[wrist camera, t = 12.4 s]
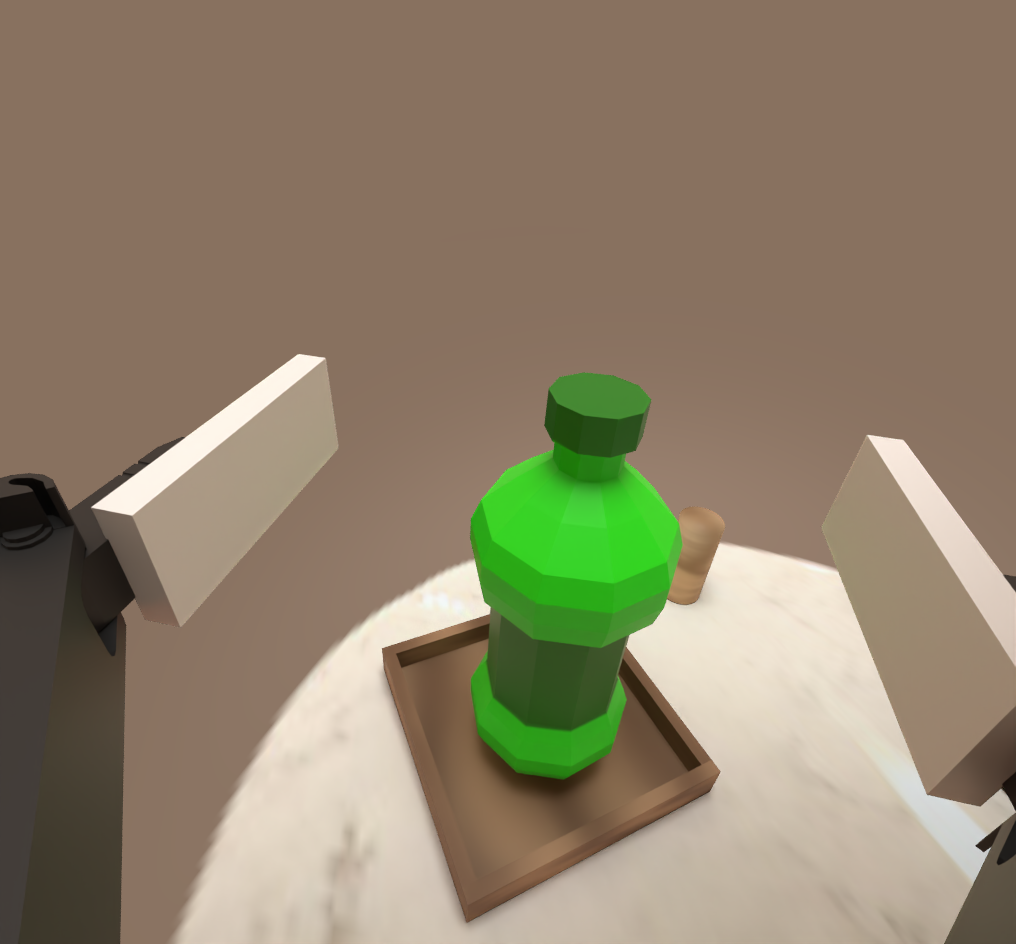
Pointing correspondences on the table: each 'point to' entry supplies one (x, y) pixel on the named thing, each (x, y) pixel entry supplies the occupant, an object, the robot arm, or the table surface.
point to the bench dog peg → (695, 552)
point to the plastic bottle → (569, 580)
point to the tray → (529, 798)
